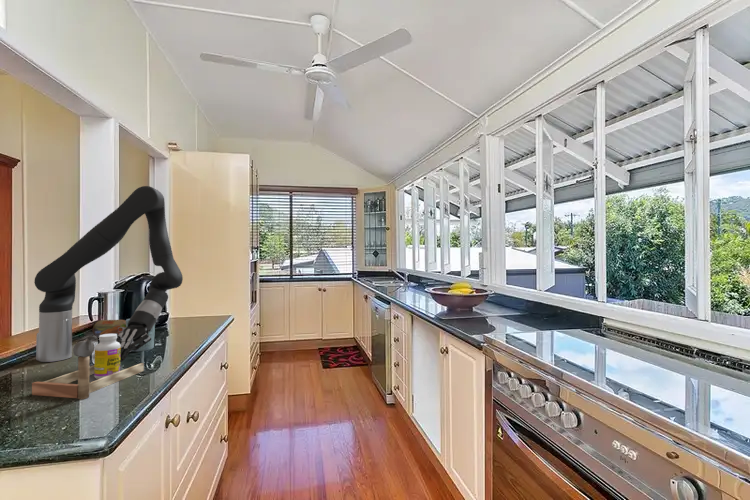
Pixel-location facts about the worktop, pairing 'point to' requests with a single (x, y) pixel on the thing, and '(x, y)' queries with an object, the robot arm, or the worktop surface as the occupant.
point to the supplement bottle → (107, 356)
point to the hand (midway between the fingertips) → (118, 360)
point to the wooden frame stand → (81, 376)
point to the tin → (108, 327)
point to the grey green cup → (150, 343)
